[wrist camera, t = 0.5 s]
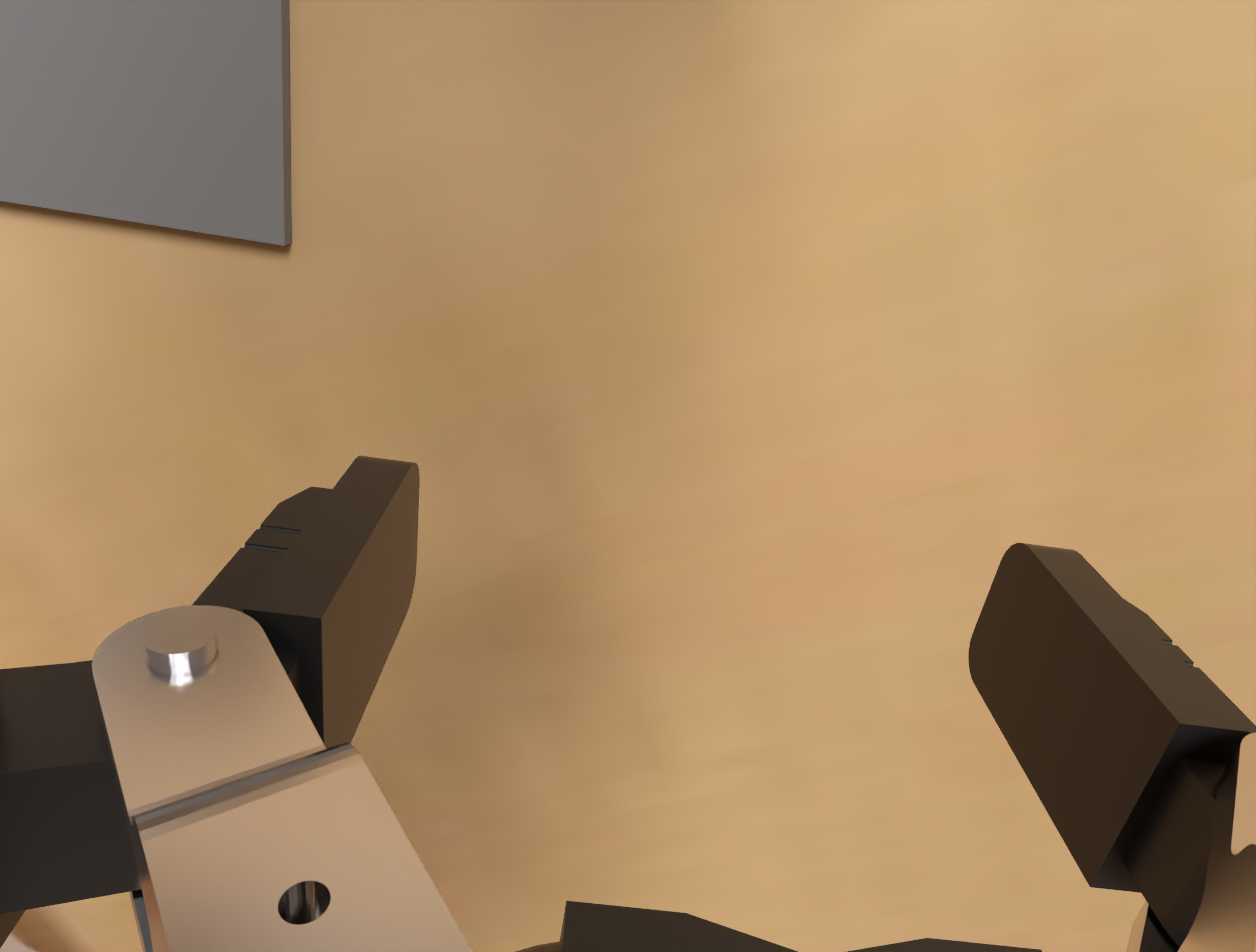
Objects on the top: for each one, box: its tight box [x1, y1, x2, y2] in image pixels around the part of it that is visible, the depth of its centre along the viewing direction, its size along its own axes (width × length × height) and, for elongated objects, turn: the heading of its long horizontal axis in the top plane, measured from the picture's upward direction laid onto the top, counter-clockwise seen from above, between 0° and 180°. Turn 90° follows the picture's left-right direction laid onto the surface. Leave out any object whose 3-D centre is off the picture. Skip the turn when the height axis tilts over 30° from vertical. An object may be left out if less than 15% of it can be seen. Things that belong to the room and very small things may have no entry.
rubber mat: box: [0, 0, 292, 246], centre depth 33 cm, size 14×20×1 cm
